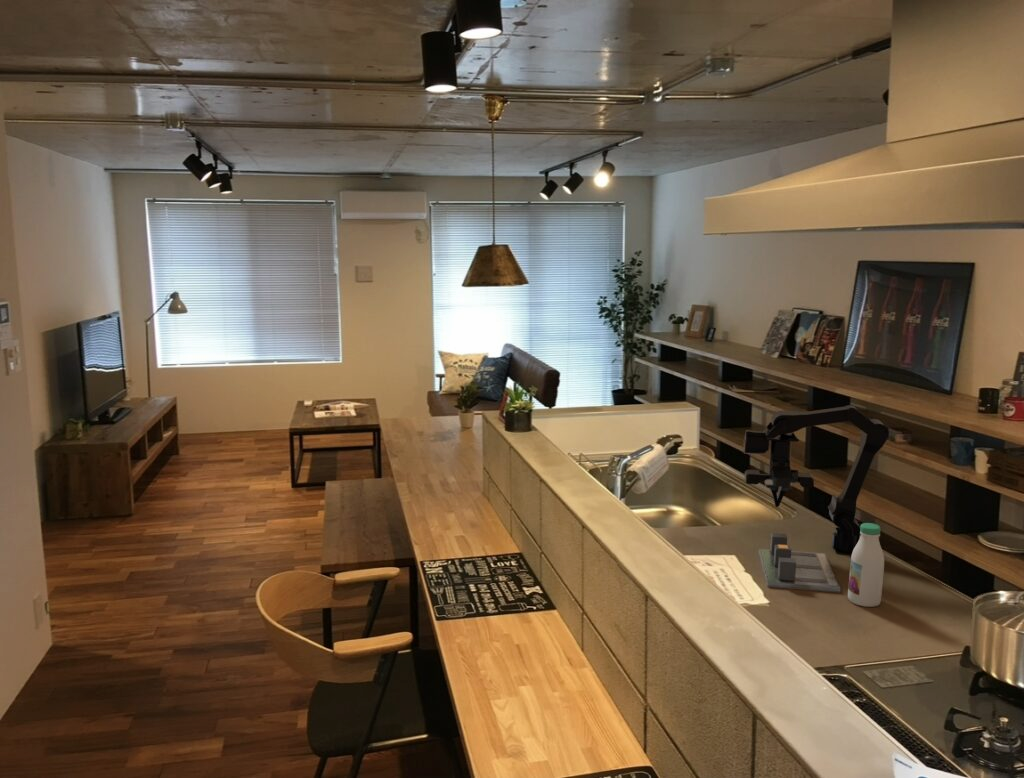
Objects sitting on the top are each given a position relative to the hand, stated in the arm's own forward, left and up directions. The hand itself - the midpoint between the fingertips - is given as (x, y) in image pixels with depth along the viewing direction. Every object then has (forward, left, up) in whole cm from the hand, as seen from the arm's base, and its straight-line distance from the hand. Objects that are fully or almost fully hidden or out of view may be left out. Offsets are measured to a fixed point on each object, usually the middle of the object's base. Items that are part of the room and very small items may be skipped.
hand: (776, 506), depth 245 cm
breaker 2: (0, +27, -10) cm, 29 cm away
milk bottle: (-18, +34, -12) cm, 40 cm away
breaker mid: (0, +18, -10) cm, 21 cm away
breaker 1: (0, +9, -10) cm, 14 cm away
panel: (-4, +19, -12) cm, 22 cm away
